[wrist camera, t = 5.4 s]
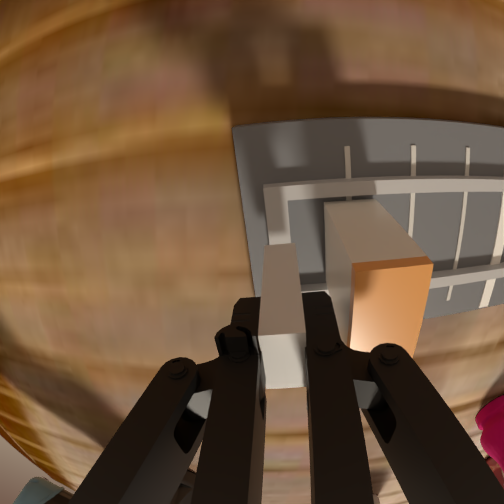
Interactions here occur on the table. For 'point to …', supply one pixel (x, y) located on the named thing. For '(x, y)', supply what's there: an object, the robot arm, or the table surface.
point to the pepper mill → (493, 429)
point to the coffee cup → (376, 499)
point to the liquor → (496, 470)
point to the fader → (374, 276)
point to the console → (381, 195)
